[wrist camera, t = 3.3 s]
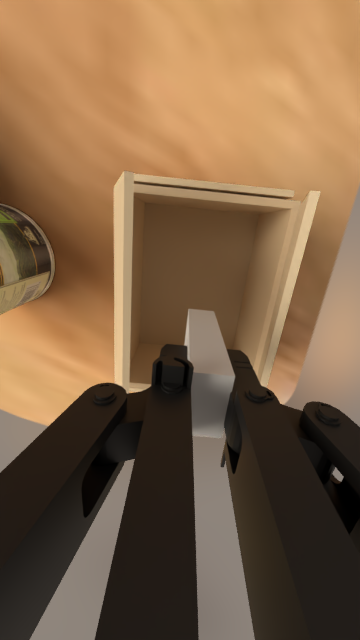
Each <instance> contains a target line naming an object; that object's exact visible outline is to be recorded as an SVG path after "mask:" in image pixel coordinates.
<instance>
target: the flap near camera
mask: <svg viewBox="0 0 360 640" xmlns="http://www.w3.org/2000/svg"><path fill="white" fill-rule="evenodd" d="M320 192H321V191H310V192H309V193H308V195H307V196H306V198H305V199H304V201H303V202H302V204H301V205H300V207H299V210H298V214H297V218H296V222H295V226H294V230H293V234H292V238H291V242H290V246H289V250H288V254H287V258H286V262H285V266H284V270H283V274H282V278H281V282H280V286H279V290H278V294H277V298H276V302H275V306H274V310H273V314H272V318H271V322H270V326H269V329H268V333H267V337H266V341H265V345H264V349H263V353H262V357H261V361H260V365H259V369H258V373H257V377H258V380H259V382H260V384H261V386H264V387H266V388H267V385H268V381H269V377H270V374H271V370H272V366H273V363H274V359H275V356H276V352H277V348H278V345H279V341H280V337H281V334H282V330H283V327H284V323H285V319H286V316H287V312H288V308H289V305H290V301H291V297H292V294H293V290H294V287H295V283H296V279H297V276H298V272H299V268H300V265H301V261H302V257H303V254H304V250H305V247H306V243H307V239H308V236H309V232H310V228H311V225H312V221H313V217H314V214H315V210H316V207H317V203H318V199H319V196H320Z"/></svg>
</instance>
